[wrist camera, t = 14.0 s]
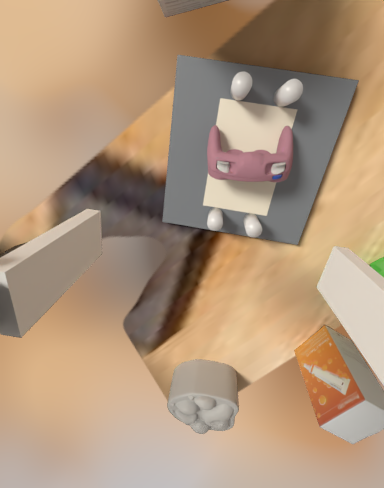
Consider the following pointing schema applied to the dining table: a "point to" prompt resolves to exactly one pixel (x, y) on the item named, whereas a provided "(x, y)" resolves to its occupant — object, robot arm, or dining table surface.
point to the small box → (341, 386)
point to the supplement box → (184, 5)
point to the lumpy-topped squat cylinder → (204, 395)
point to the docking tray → (250, 144)
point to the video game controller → (250, 160)
